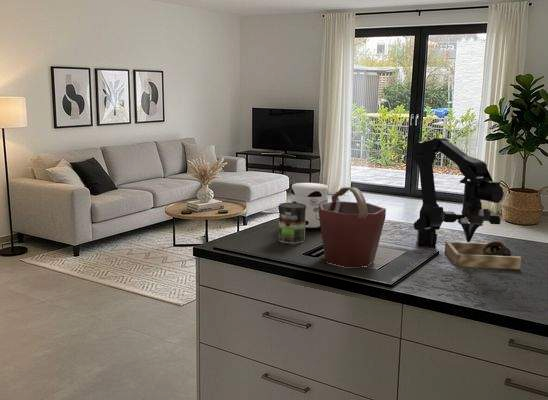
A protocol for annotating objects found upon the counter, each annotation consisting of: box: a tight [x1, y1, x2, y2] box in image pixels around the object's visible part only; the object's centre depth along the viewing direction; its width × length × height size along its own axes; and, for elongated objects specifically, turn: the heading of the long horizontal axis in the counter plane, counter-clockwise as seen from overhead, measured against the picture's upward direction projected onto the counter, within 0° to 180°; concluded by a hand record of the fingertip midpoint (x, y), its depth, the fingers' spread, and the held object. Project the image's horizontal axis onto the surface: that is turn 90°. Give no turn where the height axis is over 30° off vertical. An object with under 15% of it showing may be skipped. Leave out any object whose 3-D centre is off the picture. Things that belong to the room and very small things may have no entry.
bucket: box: [319, 186, 387, 267], centre depth 185 cm, size 24×22×25 cm
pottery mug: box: [483, 240, 512, 256], centre depth 190 cm, size 12×10×8 cm
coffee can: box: [278, 202, 306, 244], centre depth 210 cm, size 10×10×14 cm
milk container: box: [290, 182, 329, 230], centre depth 232 cm, size 17×17×18 cm
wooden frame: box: [444, 241, 522, 270], centre depth 191 cm, size 21×17×4 cm
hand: (468, 241), depth 191 cm, fingers closed
